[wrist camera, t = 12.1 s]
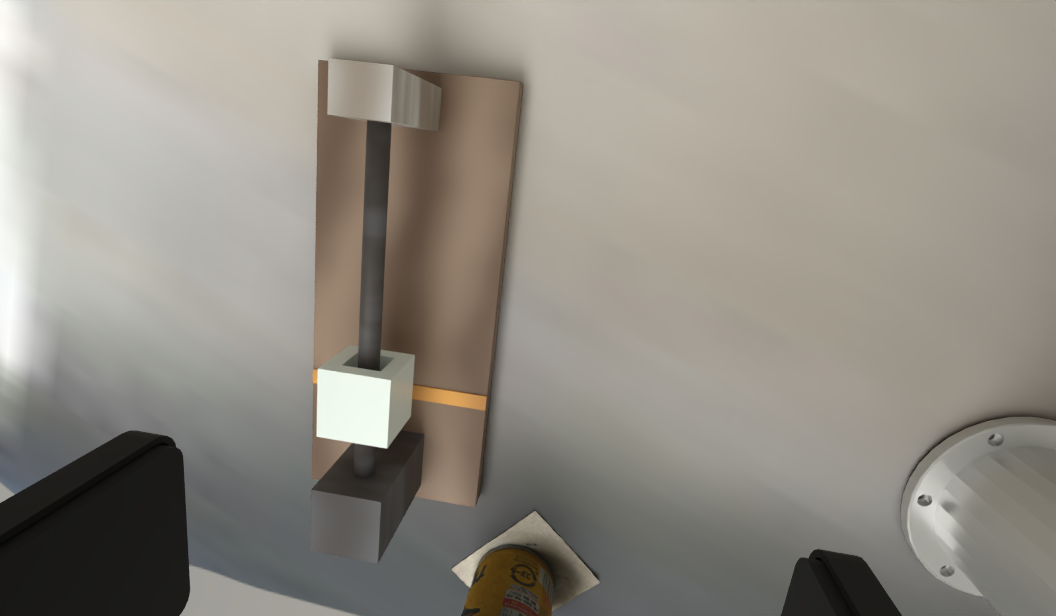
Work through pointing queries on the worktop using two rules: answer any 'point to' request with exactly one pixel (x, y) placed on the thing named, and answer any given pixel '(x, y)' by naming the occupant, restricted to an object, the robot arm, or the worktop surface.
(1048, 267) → the worktop surface
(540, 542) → the condiment
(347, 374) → the sleeve
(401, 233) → the rod slider rig
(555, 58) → the worktop surface
